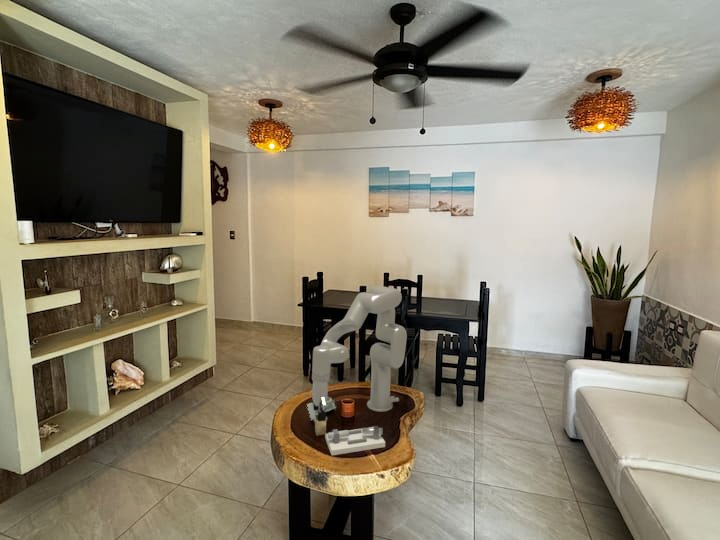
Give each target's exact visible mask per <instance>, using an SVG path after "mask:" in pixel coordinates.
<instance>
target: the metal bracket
mask: <svg viewBox="0 0 720 540" xmlns="http://www.w3.org/2000/svg"><path fill="white" fill-rule="evenodd" d="M321 404H322V403H321ZM306 405H307V407H308V408H307V407H306V408H307V411H309V412H308V415H309V414H310V415H309V419H310V418H311V419H310V421H314V418H315V415H318V411H319V410H314V402H313V401H312V402H309V403H307V404H306ZM321 407H322V406H321ZM337 408H338V407H337V406H336V404H335V400H334V399H333V398H332V397H329V396H327V404H326V413H327V412H331V411H332V410H334V411H336V409H337Z"/></svg>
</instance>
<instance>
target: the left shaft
mask: <svg viewBox="0 0 720 540" xmlns="http://www.w3.org/2000/svg"><path fill="white" fill-rule="evenodd" d="M372 427H373V428H370V427H362V428H361V429H362V434H373V437H374V439H379V434H380V435H383V434H384V433H383V432H384V431H383V427H379V425H373V426H372Z"/></svg>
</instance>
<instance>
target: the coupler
mask: <svg viewBox="0 0 720 540" xmlns="http://www.w3.org/2000/svg"><path fill="white" fill-rule="evenodd" d="M327 421H328V416H327V415H326V420H325V421H318V415H315V418H314V420H313V422H314V432H315V435H316V436H322V435H324V436H325V434H327Z"/></svg>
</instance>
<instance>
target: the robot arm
mask: <svg viewBox="0 0 720 540" xmlns="http://www.w3.org/2000/svg"><path fill="white" fill-rule="evenodd" d="M402 298H403V296H402V293H401V291H400V290H399V289H397V288H392V287H388V286H383V285H373V286H372V287H371V288H370V289H369V292H366V291H365V292H359V293H357V295H356V297H355V298H354V300H353V302H352V304H351V305H350V307H349V309H348V310H347V313H346V314H345V315H344V317H343V319H342V320H340V321H338V322H337V323H336V324H334V325H333V326H332V327H330V329H329V330H328V331H327V332H326V334H325V336H324V337H323V339H322V341H321V343H320V345H317V346H314V347H313V350H312V369H311V371H312V372H311V380H312V389H311V398H312V403H313V402H314V410H319V411H318V421H325V420H326V416H327V412H326V404H327V397H328V392H329V391H328V389H329V388H328V387H329V386H328V385H329V383H328V382H330V380H331V367H332V366H331V365H332V364H341V363H344V362H346V361H347V360H348V359H349V357H350V350H349V349H348V347H346V346H345V345H343V344H341V343H339V342H338V340H339V339H340V338H341V337H343V335H345V334H348V333H350V332H354V331H358V330H360V329H361V328H362V326H363V324H364V322H365V320H366V318H367V317H368V315H369V313H371V314H375V315H377V317H376V328H375V337H376V339H377V340H380V341H382V342H375V343H374V344H372V345H371V347H370V351H369V356H370V365H371V366H370V368H371V374H370V375H371V376H370V377H371V378H370V399H368V401H366V406H367V408H368V409H369V410H371V411H374V412H378V413H379V412H380V413H382V412H383V413H384V412H388V411H390V410H392V409H393V403H397V402H400V398H399V397H396V396H395V395H391V376H392V372H391V370H392V369H396V370H397V369H399V368H400V367H402V365H403V363H404V360H405V356H406V355H405V353H406V349H407V348H406V346H407V339H408V335H407V331H406V328H405V327H404V326H403V325H400V324H398V323H396V322H395V321H396V320H395V319H396V309H395V308H396V307H398V306H399V305H400V303H401V302H402V300H403V299H402ZM383 342H385V343H383ZM386 343H388V344H386ZM321 403H322V404H321ZM321 406H322V407H321ZM326 421H327V420H326Z"/></svg>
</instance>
